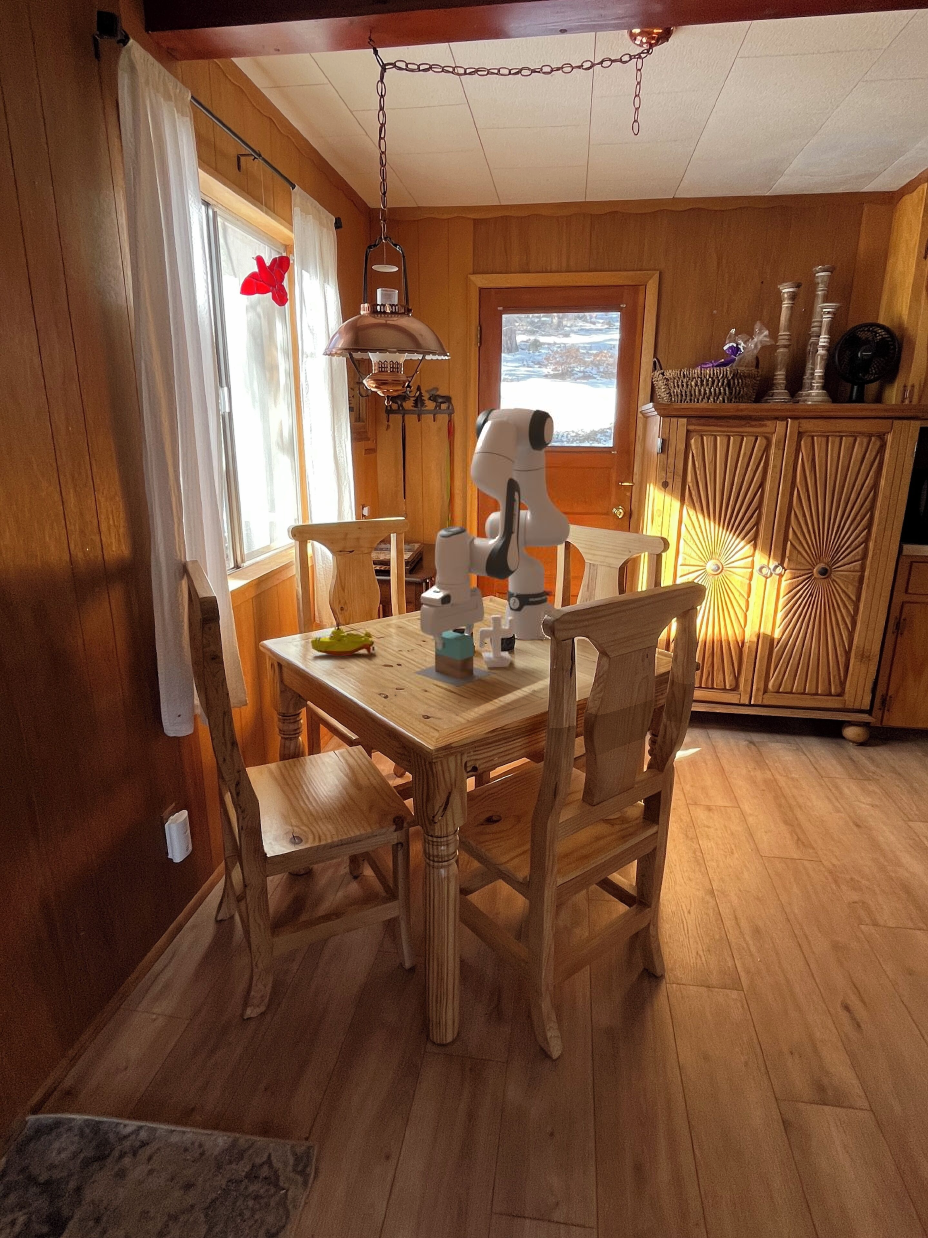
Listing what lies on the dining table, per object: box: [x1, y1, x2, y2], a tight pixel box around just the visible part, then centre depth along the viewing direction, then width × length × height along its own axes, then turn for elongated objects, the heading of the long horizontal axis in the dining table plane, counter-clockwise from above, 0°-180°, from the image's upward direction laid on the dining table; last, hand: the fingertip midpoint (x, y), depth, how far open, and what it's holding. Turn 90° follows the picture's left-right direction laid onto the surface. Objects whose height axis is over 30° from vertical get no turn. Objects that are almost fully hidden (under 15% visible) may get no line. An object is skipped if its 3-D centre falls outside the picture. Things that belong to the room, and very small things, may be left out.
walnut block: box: [434, 652, 474, 679], centre depth 182 cm, size 5×9×5 cm, turn 47°
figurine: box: [478, 614, 514, 668], centre depth 188 cm, size 7×9×15 cm
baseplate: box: [413, 665, 495, 688], centre depth 183 cm, size 14×16×2 cm
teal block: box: [434, 630, 475, 660], centre depth 180 cm, size 5×9×5 cm, turn 47°
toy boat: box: [310, 621, 376, 657], centre depth 202 cm, size 6×18×10 cm, turn 94°
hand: (453, 644), depth 180 cm, fingers open, 8 cm apart
